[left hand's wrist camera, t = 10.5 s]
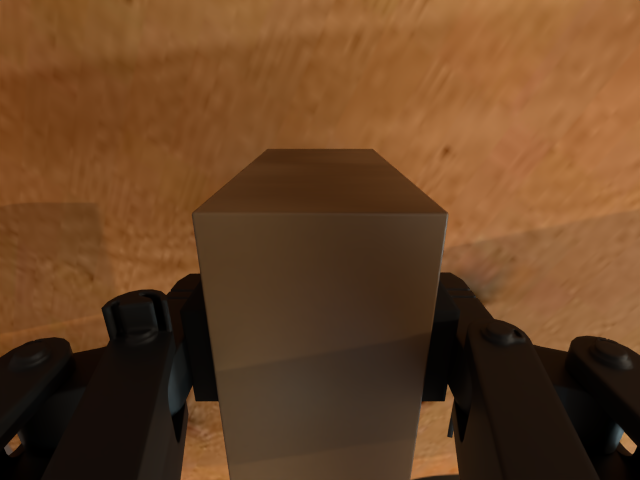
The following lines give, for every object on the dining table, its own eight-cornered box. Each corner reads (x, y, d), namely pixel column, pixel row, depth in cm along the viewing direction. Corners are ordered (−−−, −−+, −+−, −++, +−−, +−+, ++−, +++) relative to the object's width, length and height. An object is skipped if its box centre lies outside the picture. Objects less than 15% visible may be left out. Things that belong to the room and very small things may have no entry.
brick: (274, 295, 18) (230, 486, 9) (266, 148, 16) (190, 212, 6) (365, 295, 18) (410, 486, 9) (373, 148, 16) (449, 212, 6)
